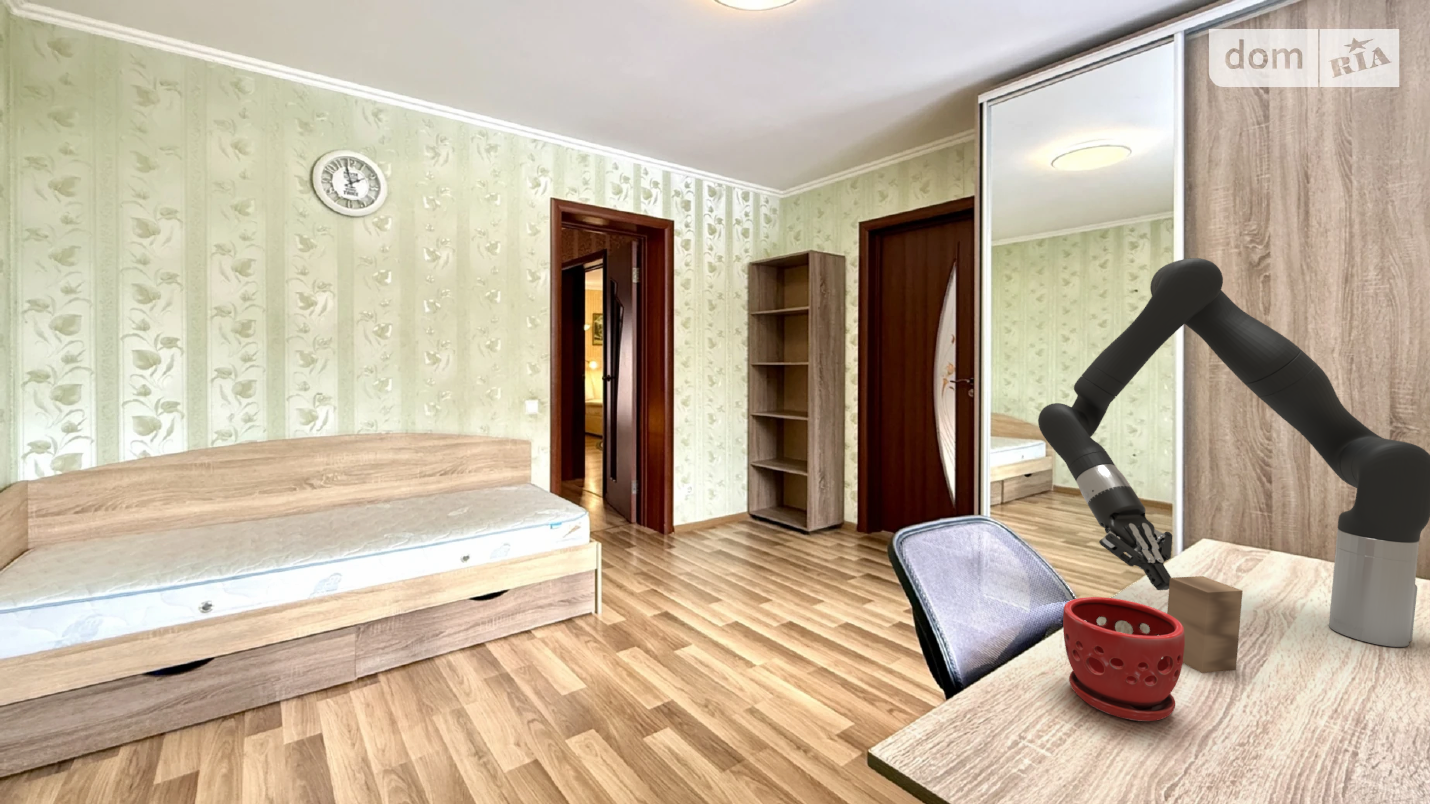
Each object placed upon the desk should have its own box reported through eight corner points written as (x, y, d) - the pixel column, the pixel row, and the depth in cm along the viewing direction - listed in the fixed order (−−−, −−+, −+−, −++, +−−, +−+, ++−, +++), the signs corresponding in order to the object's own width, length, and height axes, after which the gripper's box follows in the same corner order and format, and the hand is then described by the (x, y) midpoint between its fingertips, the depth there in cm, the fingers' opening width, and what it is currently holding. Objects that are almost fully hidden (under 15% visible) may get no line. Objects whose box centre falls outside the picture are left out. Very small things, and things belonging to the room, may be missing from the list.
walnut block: (1197, 650, 95) (1202, 576, 94) (1236, 670, 89) (1242, 590, 88) (1164, 653, 94) (1169, 577, 93) (1201, 672, 88) (1207, 592, 87)
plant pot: (1088, 667, 89) (1094, 588, 88) (1196, 712, 77) (1203, 621, 77) (1039, 692, 82) (1044, 605, 81) (1150, 745, 70) (1157, 645, 70)
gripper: (1089, 484, 104) (1146, 579, 93) (1155, 483, 106) (1218, 576, 95) (1064, 507, 110) (1115, 599, 98) (1127, 506, 112) (1184, 596, 101)
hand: (1166, 588), depth 97 cm, fingers closed
